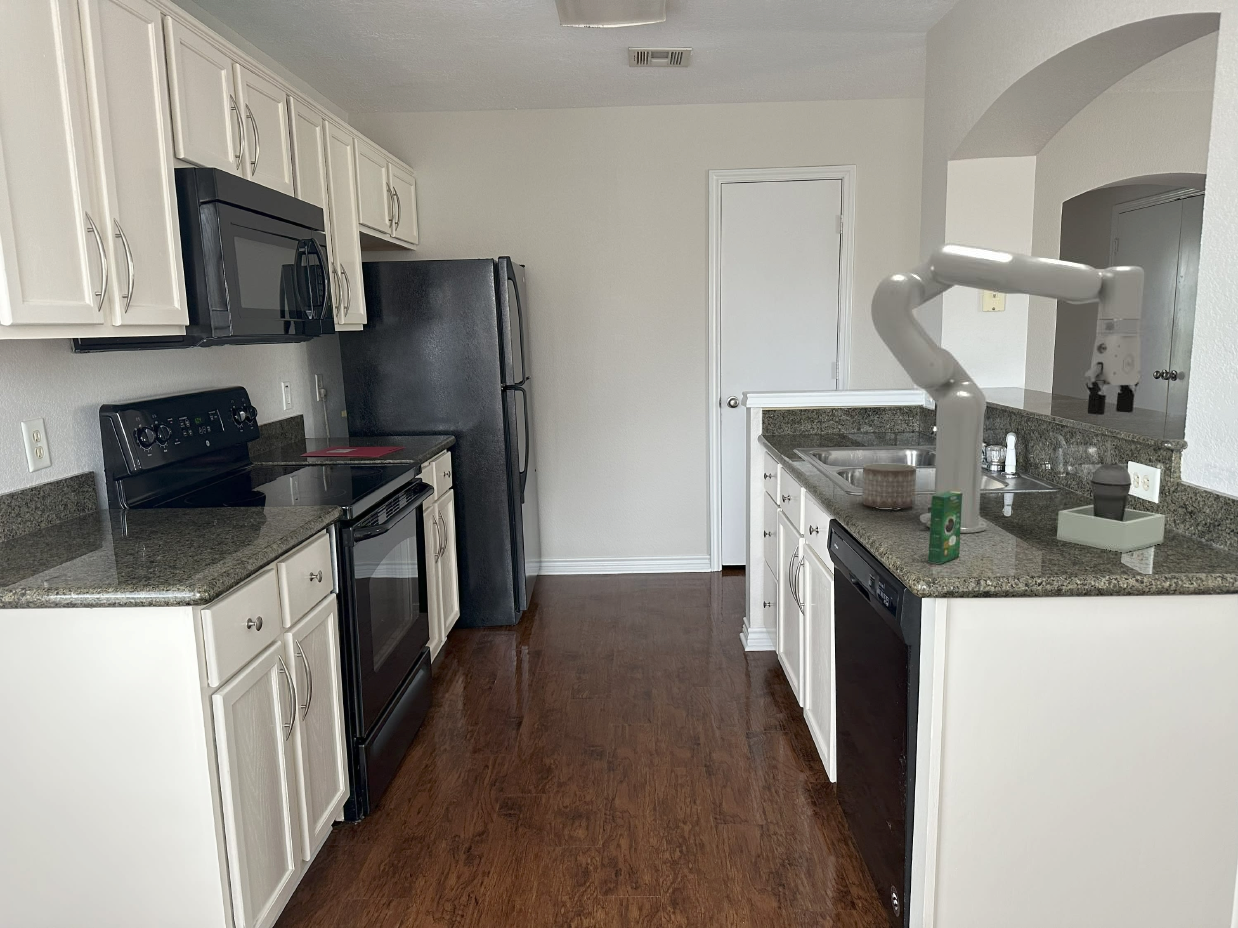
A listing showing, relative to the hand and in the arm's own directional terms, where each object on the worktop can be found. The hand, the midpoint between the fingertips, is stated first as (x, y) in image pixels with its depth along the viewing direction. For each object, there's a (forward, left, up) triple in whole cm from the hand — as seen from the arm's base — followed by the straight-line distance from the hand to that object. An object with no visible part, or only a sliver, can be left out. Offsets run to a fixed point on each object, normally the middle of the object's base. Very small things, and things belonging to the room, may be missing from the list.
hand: (1110, 413), depth 176 cm
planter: (-11, +48, -27) cm, 56 cm away
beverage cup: (-1, -2, -26) cm, 26 cm away
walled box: (-1, -2, -27) cm, 27 cm away
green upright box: (-41, +7, -27) cm, 49 cm away
